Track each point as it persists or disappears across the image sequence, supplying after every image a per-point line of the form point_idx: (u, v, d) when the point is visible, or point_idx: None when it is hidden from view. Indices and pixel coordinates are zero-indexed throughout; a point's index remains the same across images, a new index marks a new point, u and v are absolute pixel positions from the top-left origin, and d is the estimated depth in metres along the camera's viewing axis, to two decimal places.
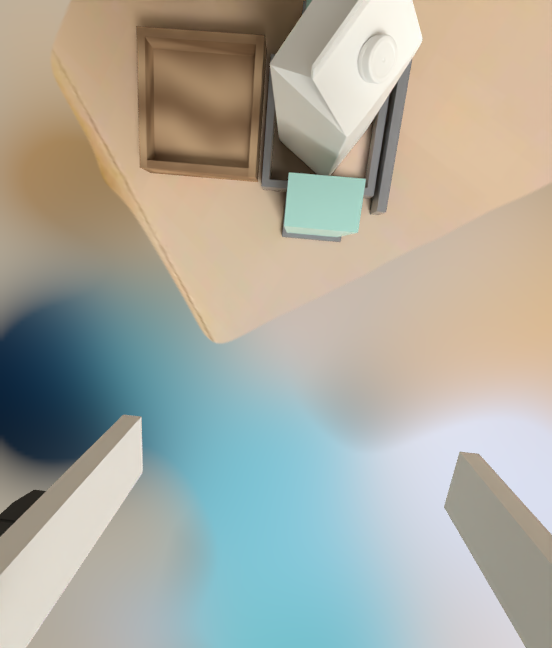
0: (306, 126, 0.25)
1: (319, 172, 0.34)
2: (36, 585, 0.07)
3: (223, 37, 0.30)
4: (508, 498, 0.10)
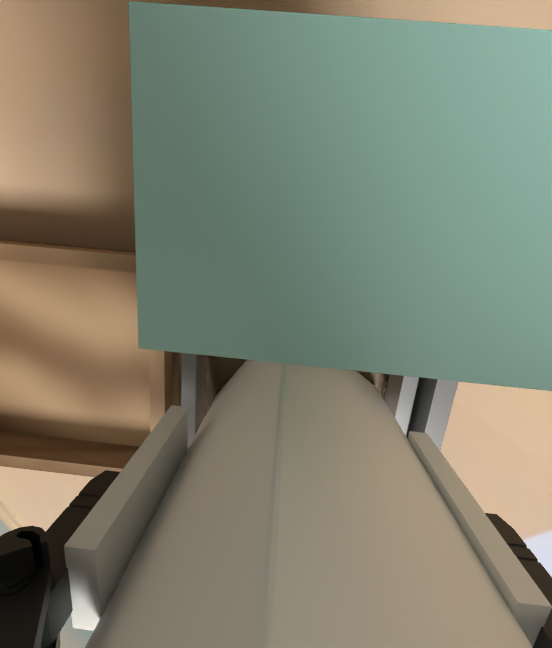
0: None
1: None
2: (123, 550, 0.08)
3: (79, 260, 0.15)
4: (443, 469, 0.11)
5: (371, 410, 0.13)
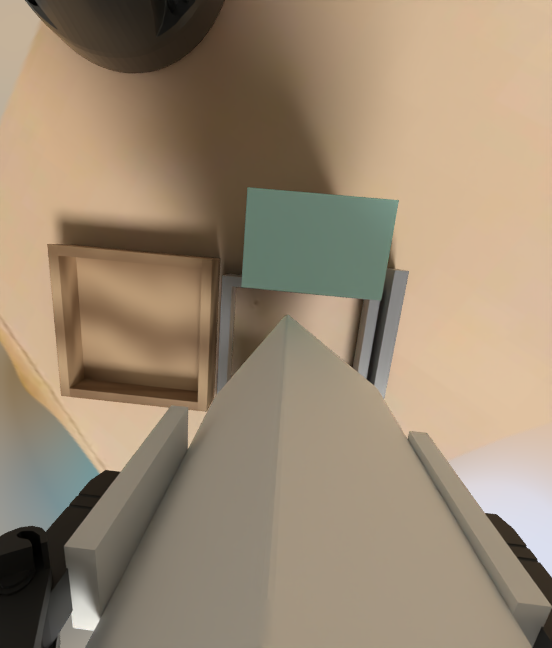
0: None
1: None
2: (123, 550, 0.08)
3: (159, 260, 0.23)
4: (443, 469, 0.11)
5: (371, 410, 0.13)
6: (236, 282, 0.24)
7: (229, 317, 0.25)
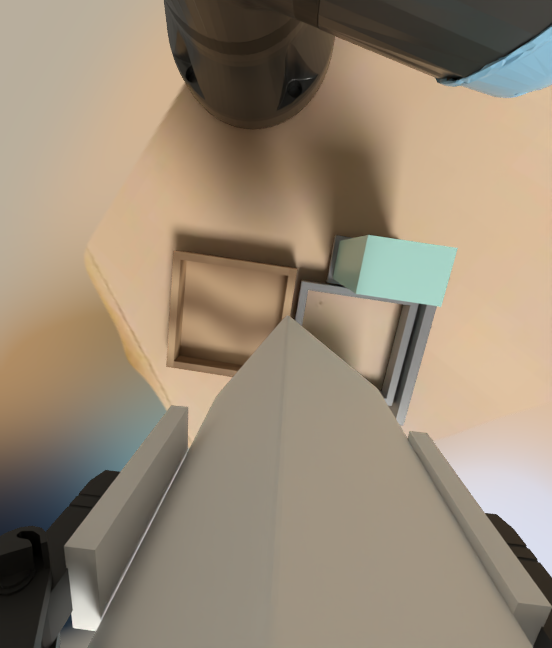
0: None
1: None
2: (123, 549, 0.08)
3: (257, 267, 0.31)
4: (443, 469, 0.11)
5: (372, 411, 0.13)
6: (312, 287, 0.32)
7: (303, 313, 0.33)
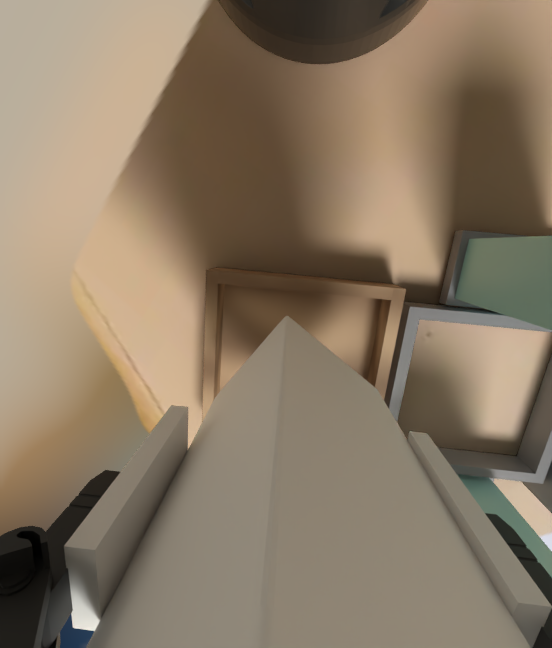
0: None
1: None
2: (123, 550, 0.08)
3: (340, 289, 0.20)
4: (443, 469, 0.11)
5: (371, 411, 0.13)
6: (426, 314, 0.20)
7: (410, 354, 0.21)
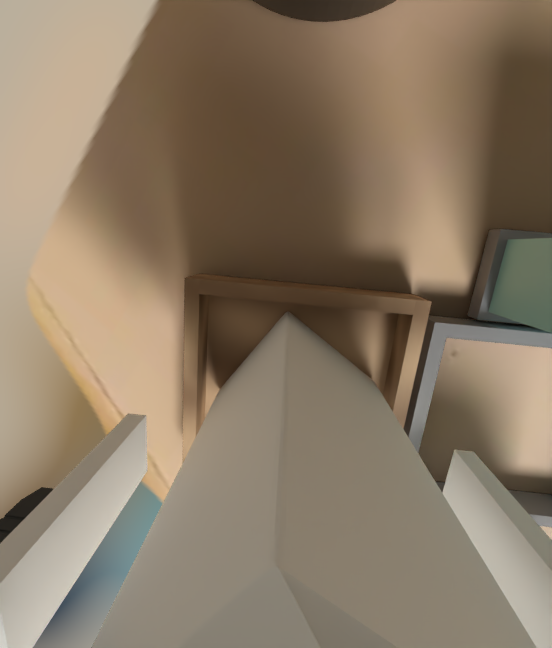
0: None
1: None
2: (46, 581, 0.08)
3: (350, 302, 0.16)
4: (501, 495, 0.10)
5: (368, 400, 0.14)
6: (454, 332, 0.17)
7: (434, 379, 0.17)
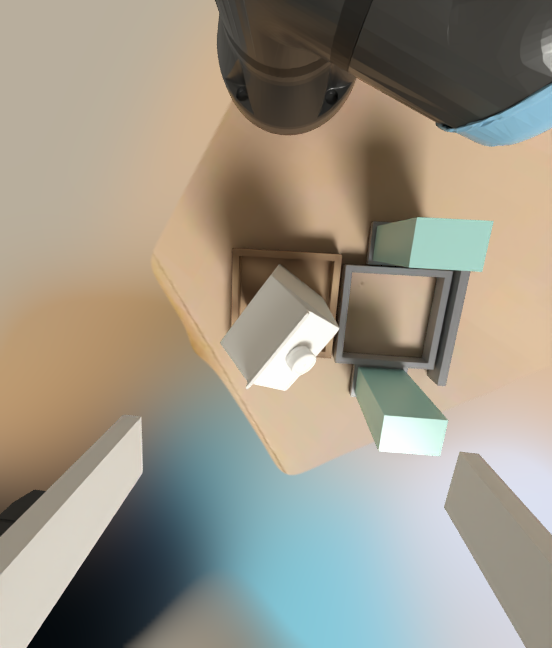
0: None
1: None
2: (36, 585, 0.07)
3: (306, 256, 0.36)
4: (508, 498, 0.10)
5: (311, 293, 0.33)
6: (355, 269, 0.36)
7: (349, 293, 0.37)
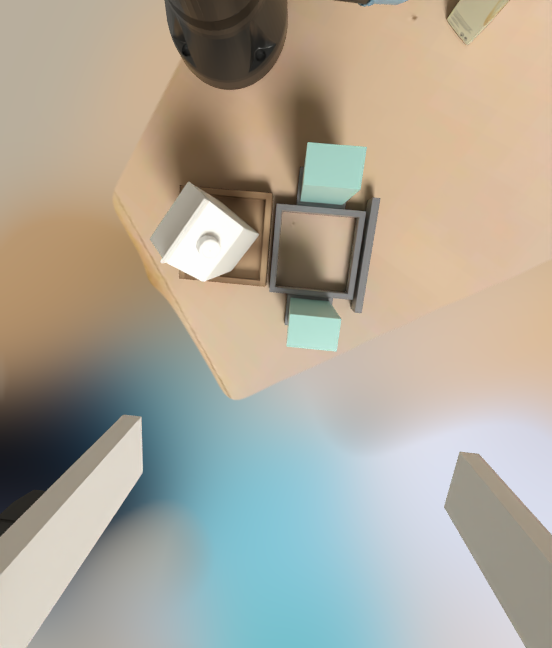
0: None
1: None
2: (36, 585, 0.07)
3: (242, 194, 0.42)
4: (508, 498, 0.10)
5: (241, 221, 0.40)
6: (284, 207, 0.43)
7: (279, 228, 0.43)
